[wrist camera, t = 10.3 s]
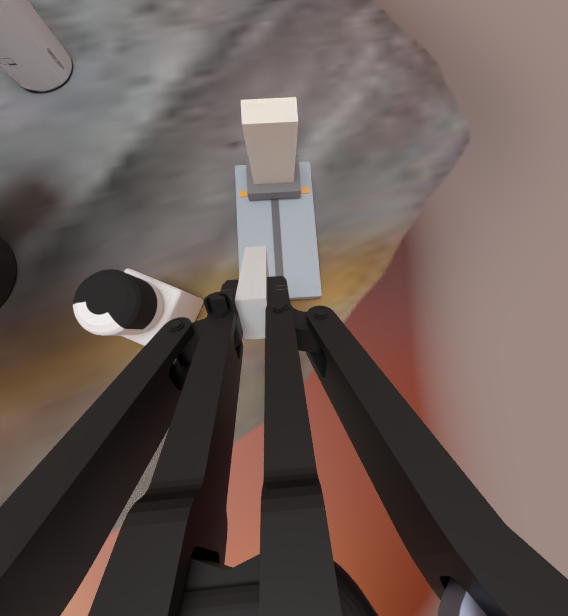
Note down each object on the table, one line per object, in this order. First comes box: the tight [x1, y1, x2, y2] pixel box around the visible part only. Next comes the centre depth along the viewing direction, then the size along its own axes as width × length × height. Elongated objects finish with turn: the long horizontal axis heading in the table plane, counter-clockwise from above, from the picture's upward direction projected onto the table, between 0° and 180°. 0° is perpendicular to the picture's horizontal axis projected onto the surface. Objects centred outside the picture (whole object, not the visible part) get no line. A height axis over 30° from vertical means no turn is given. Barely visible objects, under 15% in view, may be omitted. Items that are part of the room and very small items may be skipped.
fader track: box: [235, 162, 322, 300], centre depth 33 cm, size 12×22×2 cm, turn 4°
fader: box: [241, 97, 301, 200], centre depth 28 cm, size 8×6×10 cm
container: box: [73, 269, 204, 346], centre depth 26 cm, size 8×8×13 cm
